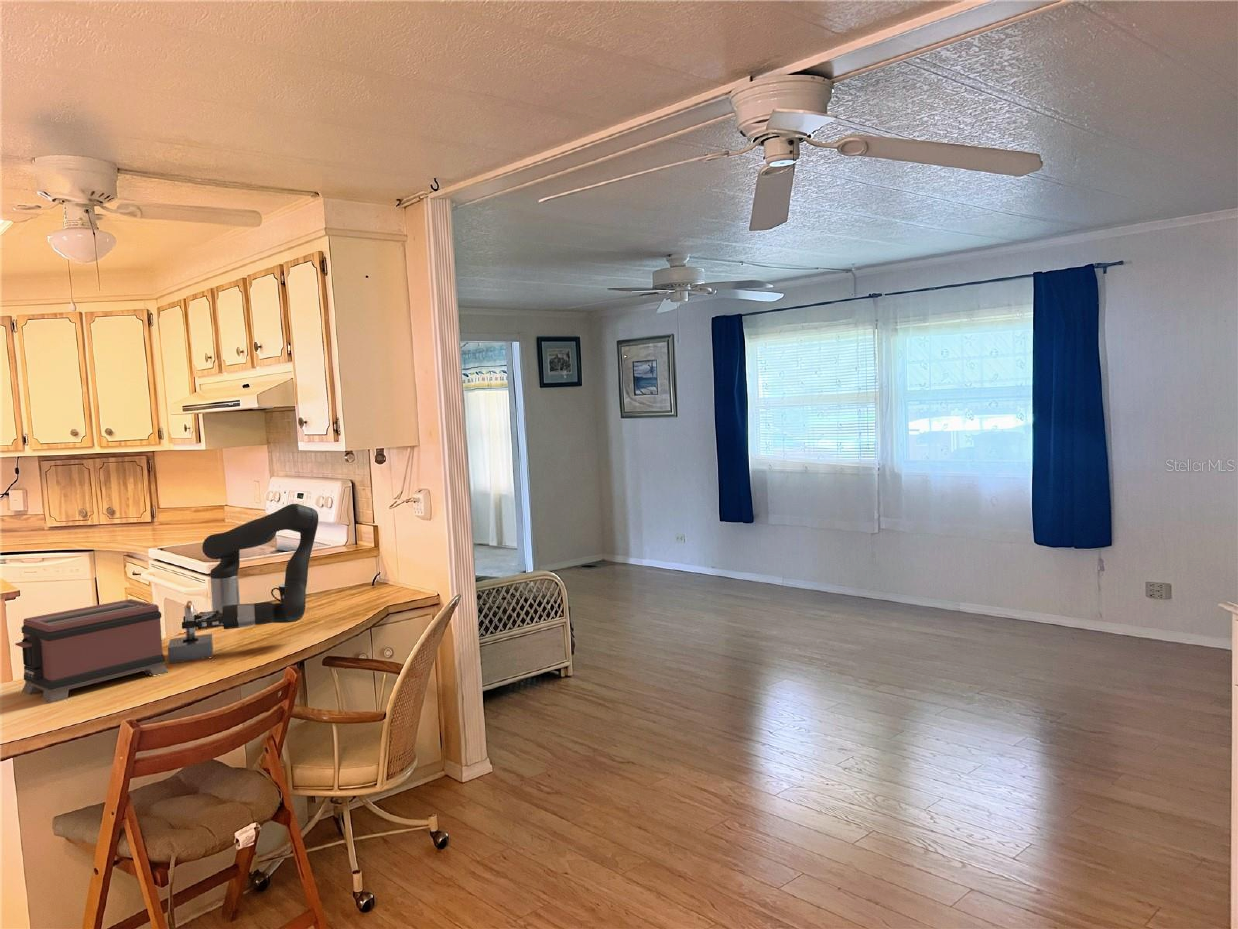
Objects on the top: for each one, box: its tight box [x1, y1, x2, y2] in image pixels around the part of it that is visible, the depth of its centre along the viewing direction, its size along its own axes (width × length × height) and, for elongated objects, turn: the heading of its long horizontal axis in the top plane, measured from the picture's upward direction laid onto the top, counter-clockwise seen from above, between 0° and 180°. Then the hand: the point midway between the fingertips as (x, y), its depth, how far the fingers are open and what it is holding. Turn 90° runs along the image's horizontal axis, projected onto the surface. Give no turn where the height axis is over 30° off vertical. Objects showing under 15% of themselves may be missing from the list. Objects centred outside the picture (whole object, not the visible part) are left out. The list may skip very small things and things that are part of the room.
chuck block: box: [167, 633, 214, 665], centre depth 267 cm, size 12×12×5 cm
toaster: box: [14, 598, 169, 704], centre depth 241 cm, size 19×34×21 cm, turn 144°
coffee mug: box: [270, 583, 285, 603], centre depth 330 cm, size 12×9×10 cm
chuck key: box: [183, 600, 196, 643], centre depth 266 cm, size 6×3×16 cm, turn 25°
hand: (182, 622), depth 265 cm, fingers open, 8 cm apart
